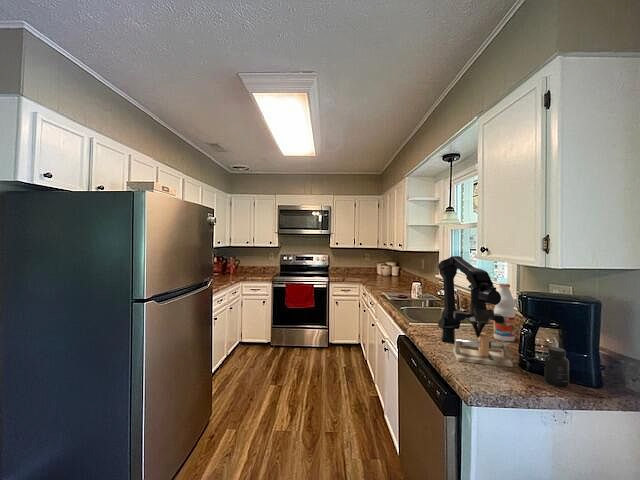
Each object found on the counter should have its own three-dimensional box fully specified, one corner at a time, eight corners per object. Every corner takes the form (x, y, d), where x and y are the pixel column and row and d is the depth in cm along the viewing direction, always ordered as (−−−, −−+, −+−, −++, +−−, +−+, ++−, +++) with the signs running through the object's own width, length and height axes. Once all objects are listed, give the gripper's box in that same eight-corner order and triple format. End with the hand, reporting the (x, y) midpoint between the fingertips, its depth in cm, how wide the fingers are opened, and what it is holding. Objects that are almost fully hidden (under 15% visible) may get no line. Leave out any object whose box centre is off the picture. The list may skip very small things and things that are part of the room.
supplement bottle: (539, 379, 111) (539, 345, 111) (557, 378, 112) (557, 345, 112) (555, 388, 104) (555, 352, 104) (574, 387, 105) (574, 352, 105)
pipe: (455, 346, 132) (456, 339, 132) (454, 344, 135) (455, 337, 135) (508, 351, 127) (508, 344, 127) (506, 348, 129) (506, 342, 129)
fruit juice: (513, 337, 161) (514, 283, 161) (516, 342, 152) (516, 285, 152) (493, 335, 165) (493, 282, 165) (494, 340, 156) (494, 284, 157)
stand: (457, 361, 127) (457, 344, 127) (453, 351, 139) (453, 335, 139) (512, 366, 122) (512, 349, 122) (503, 356, 134) (503, 339, 134)
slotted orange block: (482, 355, 127) (482, 336, 127) (478, 349, 134) (478, 332, 134) (488, 356, 127) (488, 337, 127) (484, 350, 133) (484, 332, 133)
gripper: (457, 302, 126) (456, 340, 126) (509, 305, 121) (508, 345, 121) (453, 297, 137) (452, 333, 136) (500, 300, 132) (500, 337, 131)
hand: (477, 337), depth 131 cm, fingers closed
